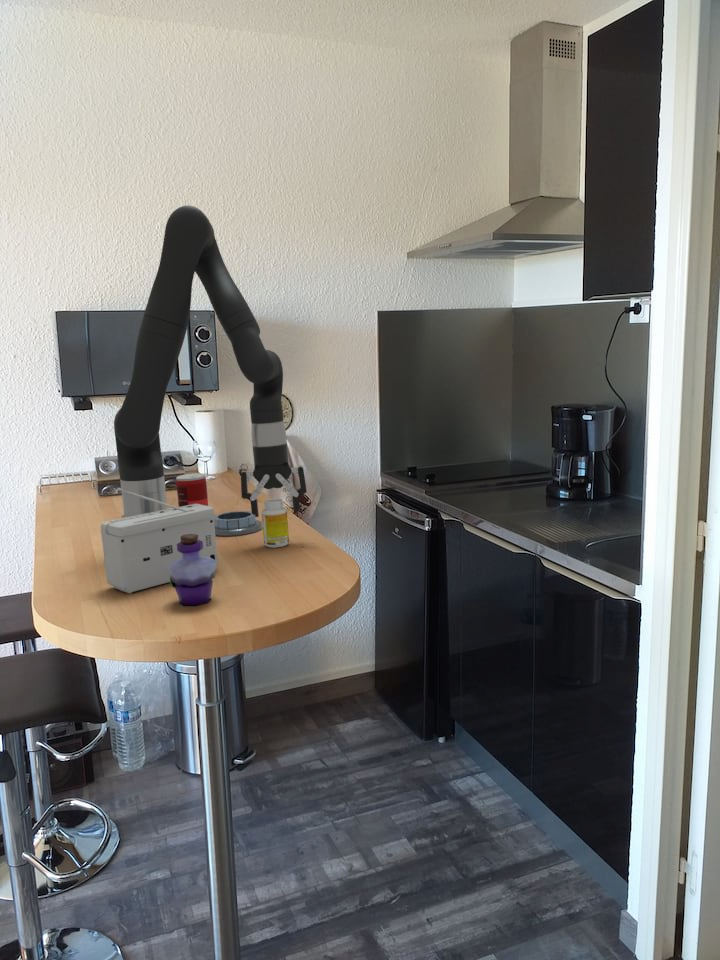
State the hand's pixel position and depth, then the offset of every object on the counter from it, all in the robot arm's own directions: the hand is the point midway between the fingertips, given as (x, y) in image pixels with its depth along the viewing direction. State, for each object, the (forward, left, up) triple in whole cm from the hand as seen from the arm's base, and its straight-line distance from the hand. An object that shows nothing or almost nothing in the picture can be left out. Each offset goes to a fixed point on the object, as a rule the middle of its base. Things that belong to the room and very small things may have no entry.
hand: (276, 514), depth 168 cm
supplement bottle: (-1, 0, -7) cm, 7 cm away
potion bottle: (-38, -6, -7) cm, 39 cm away
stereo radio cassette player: (-29, +8, -7) cm, 31 cm away
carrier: (+9, +18, -7) cm, 21 cm away
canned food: (+20, +39, -7) cm, 45 cm away
